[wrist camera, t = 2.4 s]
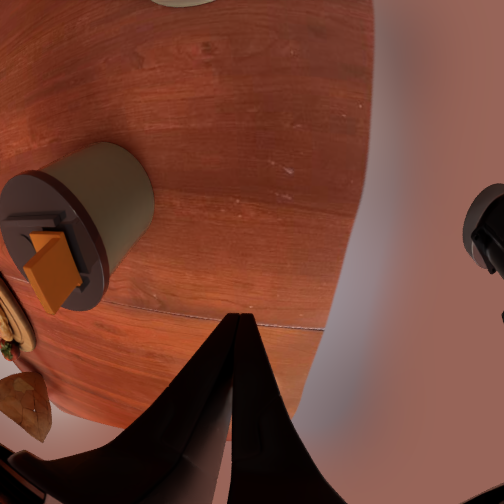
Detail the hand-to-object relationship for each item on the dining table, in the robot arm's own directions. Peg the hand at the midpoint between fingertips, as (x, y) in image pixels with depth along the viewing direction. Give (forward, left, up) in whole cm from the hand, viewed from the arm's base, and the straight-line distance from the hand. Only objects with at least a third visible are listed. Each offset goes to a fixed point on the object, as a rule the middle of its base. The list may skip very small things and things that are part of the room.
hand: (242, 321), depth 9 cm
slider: (+9, +8, -4) cm, 13 cm away
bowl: (+21, +83, -13) cm, 87 cm away
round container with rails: (+11, +9, -13) cm, 19 cm away
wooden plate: (+35, +51, -13) cm, 63 cm away
